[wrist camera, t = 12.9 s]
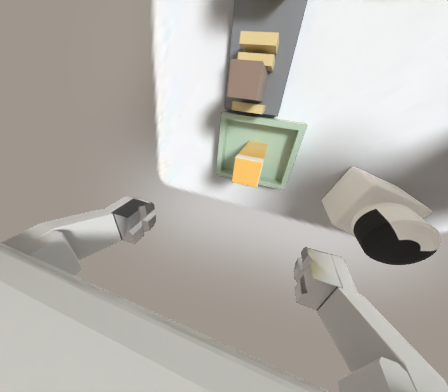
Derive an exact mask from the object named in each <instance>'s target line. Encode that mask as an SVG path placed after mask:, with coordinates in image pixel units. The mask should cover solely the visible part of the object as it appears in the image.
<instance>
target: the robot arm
mask: <svg viewBox="0 0 448 392" xmlns="http://www.w3.org/2000/svg"><path fill="white" fill-rule="evenodd" d="M153 210H154V204H153V203H151V202H149V201H145V200H142V199H139V198H135V197H132V196H126V197H124V198H122V199H120V200H119V201H117V202H115V203H114V204H112V205H110V206H108V207H107V208H105V209H103V210H96V211H92V212H87V213H83V214H78V215H74V216H70V217H65V218H61V219H57V220H52V221H48V222H44V223H40V224H38V225H36V226H34V227H32V228H30V229H28V230H26V231H24V232H22V233H20V234H18V235H16V236H14V237H12V238H9V239H8V240H6V241H4V242H1V243H0V392H329V391H327V390H325V389H323V388H320V387H318V386H316V385H314V384H312V383H309V382H307V381H305V380H303V379H300V378H298V377H296V376H294V375H292V374H290V373H287V372H285V371H283V370H281V369H279V368H276V367H274V366H272V365H270V364H267V363H265V362H263V361H261V360H259V359H256V358H254V357H252V356H250V355H248V354H245V353H243V352H241V351H239V350H237V349H234V348H232V347H230V346H228V345H225V344H223V343H221V342H219V341H217V340H215V339H212V338H210V337H208V336H206V335H203V334H201V333H199V332H197V331H195V330H193V329H190V328H188V327H186V326H184V325H181V324H179V323H177V322H175V321H173V320H170V319H168V318H166V317H164V316H162V315H159V314H157V313H155V312H152V311H151V310H148V309H146V308H144V307H142V306H139V305H137V304H135V303H133V302H131V301H128V300H126V299H124V298H122V297H120V296H117V295H115V294H113V293H111V292H108V291H106V290H104V289H102V288H100V287H98V286H95V285H93V284H91V283H88V282H86V281H84V280H82V279H80V278H78V277H76V276H75V275H76V274H77V273H78V272H79V271H81V270H82V267H83V266H82V265H81V263H80V261H79V260H81V259H83V258H85V257H87V256H90V255H92V254H94V253H96V252H98V251H100V250H103V249H104V248H107V247H109V246H111V245H113V244H115V243H118V242H120V241H121V240H124V241H127V242H130V243H133V244H136V243H137V242H138V241H139V240H140V239H141V238H142V237H143V236H144V232H146V231H149V230H150V229H151V228H152V227H153V226H154V224H155V222H156V215H155V213H154V212H153ZM301 254H302V257H301V258H298V259H297V261H296V264H295V268H294V279H295V280H296V282H297V285H296V287H295V295H296V303H299V304H301V305H304V306H307V307H309V308H312V309H314V310H317V313H318V315H319V316H320V318H321V320H322V322H323V323H324V325H325V327H326V329H327V330H328V332H329V334H330V336H331V337H332V339H333V341H334V343H335V344H336V346H337V348H338V350H339V352H340V353H341V355H342V357H343V359H344V360H345V362H346V364H347V366H348V367H349V369H350V371H351V373H349V374H347V375H345V376H343V377H341V378H340V379H339V380H338V385H339V389H340V392H448V386H447V384H446V382H445V380H444V379H443V378H442V377H441V376H440V375H439V374H438V373H437V372H436V371H435V370H434V369H433V368H432V367H431V366H430V365H429V364H428V363H427V362H426V361H425V360H424V358H423V357H422V356H421V355H420V354H419V353H418V352H417V351H416V350H415V349H414V348H413V347H412V346H411V345H410V344H409V343H408V342H407V341H406V340H405V339H404V338H403V337H402V336H401V335H400V334H399V333H398V332H397V330H396V329H395V328H394V327H393V326H392V325H391V324H390V323H389V322H388V321H387V320H386V319H385V318H384V317H383V316H382V315H381V314H380V313H379V312H378V311H377V310H376V309H375V308H374V307H373V306H372V305H371V304H370V303H369V301H368V300H367V299H366V298H365V297H364V296H363V295H360V294H358V292H357V290H356V287H355V285H354V282H353V280H352V277H351V275H350V273H349V270H348V268H347V265H346V263H345V261H344V259H343V258H342V257H339V256H336V255H332V254H327V253H324V252H321V251H317V250H314V249H310V248H307V247H305V248H304V249H303V250H302V253H301Z"/></svg>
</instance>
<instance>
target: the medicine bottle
mask: <svg viewBox="0 0 448 392" xmlns="http://www.w3.org/2000/svg"><path fill="white" fill-rule="evenodd" d="M321 201H322V204H323V206H324V208H325V210H326V213H327V215H328V217H329V219H330V222H331V224H332V225H333V226H335V227H337V228H339V229H341V230H343V231H345V232H347V233H349V234H351V235H353V236H355V237H356V238H357V240H358V242H359V244H360V245H361V247H362V249H363V250H364V252H365V253H366V255H368V256H369V257H370V258H372V259H374V260H376V261H379V262H382V263H386V264H391V265H405V264H412V263H416V262H419V261H422V260H425V259H426V258H428V257H430V256H431V255H433V254H434V253H435V252H436V250H437V249H438V247H439V245H440V242H441V237H440V234H439V232H438V231H437V230H436V229H435V228H434V227H433V226H432V225H430V224H429V223H428V222H427V221H425V220H424V218H425V217H427V216H428V215H430V214H431V213H432V210H431V209H429V208H428V207H426V206H425V205H423V204H422V203H421V202H419V201H418V200H416V199H415V198H413V197H412V196H410V195H409V194H407V193H406V192H405V191H403V190H402V189H400V188H399V187H397V186H396V185H394V184H391V183H389V182H387V181H385V180H383V179H381V178H378V177H376V176H374V175H372V174H370V173H367V172H365V171H363V170H361V169H359V168H357V167H351V168H350V169H349V170H348V171H347V172H346V173H345V174H344V175H343V177H342V178H341V179H340V180H339V181H338V182H337V183H336V184H335V185H334V186H333V188H332V189H331V190H330V191H329V192H328V193H327V194H326V195H325V196H324V197H323V199H322V200H321Z"/></svg>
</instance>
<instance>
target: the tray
mask: <svg viewBox="0 0 448 392" xmlns="http://www.w3.org/2000/svg"><path fill="white" fill-rule="evenodd" d="M306 128H307V124H305V123H300V122H293V121H286V120H280V119H273V118H266V117H259V116H252V115H245V114H238V113H231V112H221V123H220V134H219V145H218V156H217V168H216V175H219V176H223V177H228V178H232V176H233V169H234V162H235V157H236V155H237V154H239V153H240V152H241V150H242V149H243V148H244V147H245V145H246V144H247V143H248V142H249V141H254V142H260V143H266V144H268V146H267V150H266V154H265V158H264V162H263V166H262V170H261V174H260V178H259V183H258V184H259V185H263V186H267V187H272V188H276V189H281V190H285V187H286V184H287V181H288V179H289V176H290V173H291V170H292V167H293V164H294V162H295V159H296V156H297V153H298V150H299V147H300V145H301V142H302V139H303V136H304V133H305V130H306Z"/></svg>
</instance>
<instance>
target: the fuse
mask: <svg viewBox="0 0 448 392" xmlns="http://www.w3.org/2000/svg"><path fill="white" fill-rule="evenodd" d="M267 146H268V144H266V143H260V142H254V141H249V142H248V143H247V144H246V145H245V147H244V148H243V149H242V150H241V152H240V153H239V154H237V155H236V157H235V162H234V169H233V176H232V182H234V183H238V184H243V185H247V186H252V187H256V188H257V186H258V183H259V178H260V174H261V170H262V166H263V162H264V158H265V154H266V150H267Z"/></svg>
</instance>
